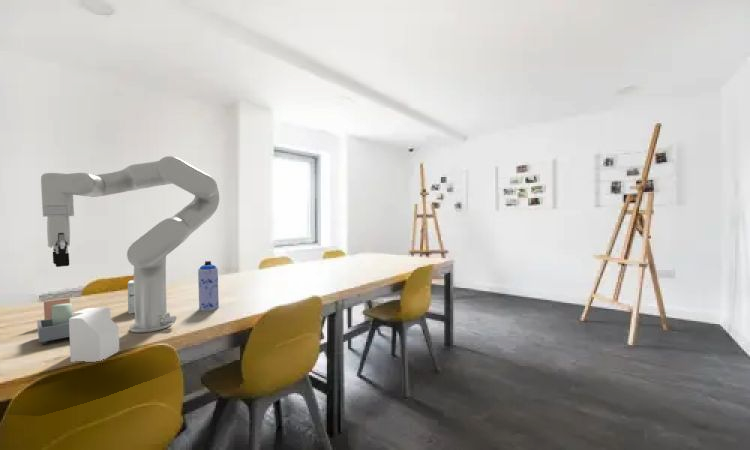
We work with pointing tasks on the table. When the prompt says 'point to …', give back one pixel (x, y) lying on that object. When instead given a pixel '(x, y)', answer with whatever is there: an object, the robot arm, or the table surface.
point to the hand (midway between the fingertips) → (61, 264)
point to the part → (61, 313)
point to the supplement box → (131, 297)
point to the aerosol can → (208, 287)
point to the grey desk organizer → (46, 326)
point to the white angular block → (93, 335)
